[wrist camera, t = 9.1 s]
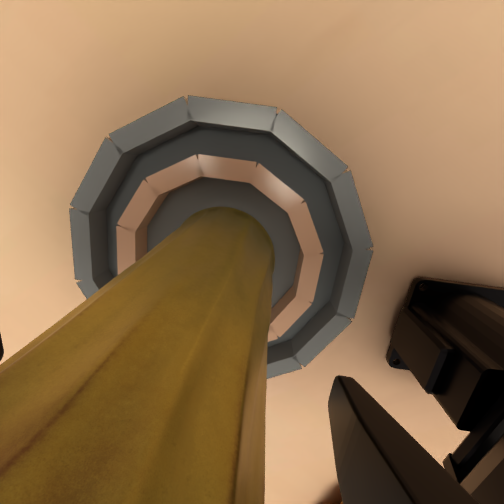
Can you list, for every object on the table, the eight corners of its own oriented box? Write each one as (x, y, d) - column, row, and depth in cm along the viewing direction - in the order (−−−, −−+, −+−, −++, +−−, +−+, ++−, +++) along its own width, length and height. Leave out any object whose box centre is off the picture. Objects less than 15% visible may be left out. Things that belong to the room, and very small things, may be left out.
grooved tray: (392, 126, 14) (417, 118, 12) (326, 376, 19) (334, 404, 17) (86, 85, 14) (51, 69, 12) (100, 343, 19) (77, 367, 17)
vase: (212, 319, 17) (-11, 922, 3) (152, 242, 16) (-620, 730, 2) (294, 272, 16) (464, 940, 2) (235, 184, 14) (-337, 445, 1)
